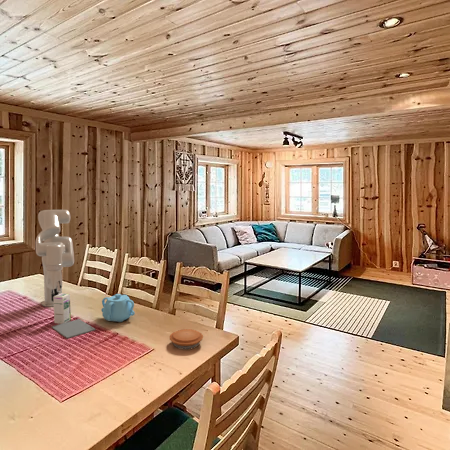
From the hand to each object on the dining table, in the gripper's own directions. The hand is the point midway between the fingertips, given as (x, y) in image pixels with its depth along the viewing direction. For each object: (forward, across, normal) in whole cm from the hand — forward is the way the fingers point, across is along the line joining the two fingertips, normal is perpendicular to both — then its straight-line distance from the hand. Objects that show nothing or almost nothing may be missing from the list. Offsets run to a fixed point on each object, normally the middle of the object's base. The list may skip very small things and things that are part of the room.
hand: (55, 300), depth 180 cm
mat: (+10, +21, 0) cm, 23 cm away
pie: (+10, +73, +30) cm, 80 cm away
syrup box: (+10, +8, 0) cm, 13 cm away
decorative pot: (+10, +24, +23) cm, 35 cm away
